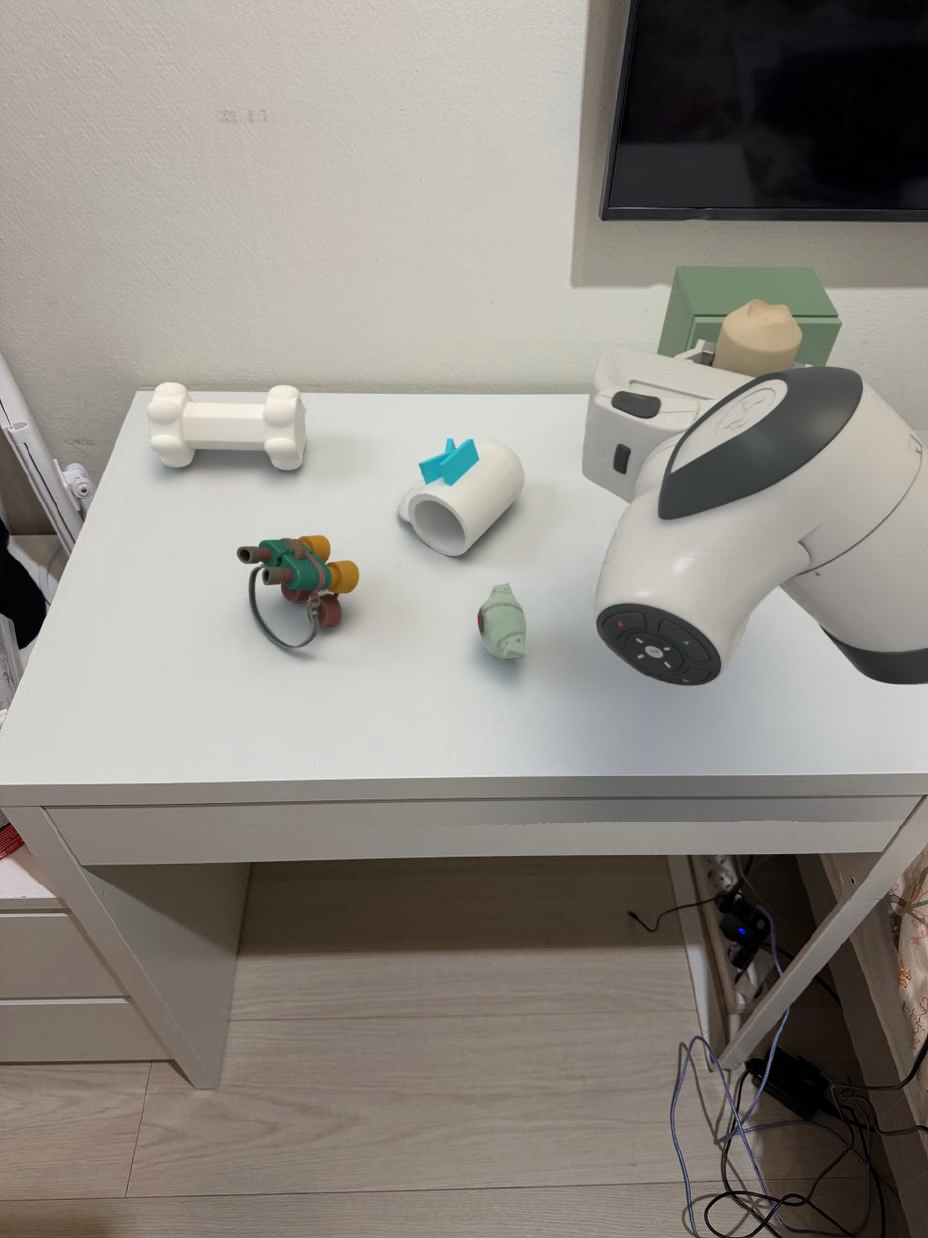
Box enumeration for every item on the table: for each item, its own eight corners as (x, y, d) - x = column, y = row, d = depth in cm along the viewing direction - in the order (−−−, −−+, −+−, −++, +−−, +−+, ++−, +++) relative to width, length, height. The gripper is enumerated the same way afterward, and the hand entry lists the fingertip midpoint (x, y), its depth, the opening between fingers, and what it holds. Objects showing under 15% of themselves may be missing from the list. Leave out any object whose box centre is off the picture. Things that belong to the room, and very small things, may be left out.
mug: (519, 410, 81) (447, 477, 75) (544, 490, 87) (478, 560, 80) (429, 410, 89) (357, 471, 82) (456, 484, 94) (390, 547, 87)
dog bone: (158, 482, 89) (136, 418, 82) (176, 430, 94) (157, 367, 88) (301, 485, 89) (290, 422, 83) (311, 433, 94) (302, 370, 88)
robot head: (530, 686, 73) (537, 638, 68) (483, 692, 73) (487, 644, 67) (512, 616, 78) (517, 566, 73) (468, 620, 78) (471, 570, 72)
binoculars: (335, 661, 77) (376, 570, 73) (254, 674, 70) (295, 573, 66) (276, 602, 81) (312, 513, 77) (194, 609, 74) (229, 511, 70)
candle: (680, 416, 67) (712, 298, 59) (737, 399, 69) (775, 283, 61) (722, 457, 64) (761, 338, 56) (780, 438, 65) (826, 321, 58)
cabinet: (783, 454, 94) (839, 314, 81) (658, 454, 93) (694, 313, 80) (763, 405, 100) (812, 266, 86) (645, 404, 99) (676, 265, 86)
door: (800, 493, 90) (860, 355, 77) (669, 493, 89) (708, 354, 76) (784, 454, 94) (839, 317, 81) (659, 454, 93) (694, 316, 80)
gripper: (903, 477, 49) (917, 355, 58) (570, 392, 54) (627, 290, 62) (862, 553, 54) (880, 430, 63) (559, 469, 59) (613, 365, 67)
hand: (751, 359), depth 63 cm, fingers closed on candle, 5 cm apart
